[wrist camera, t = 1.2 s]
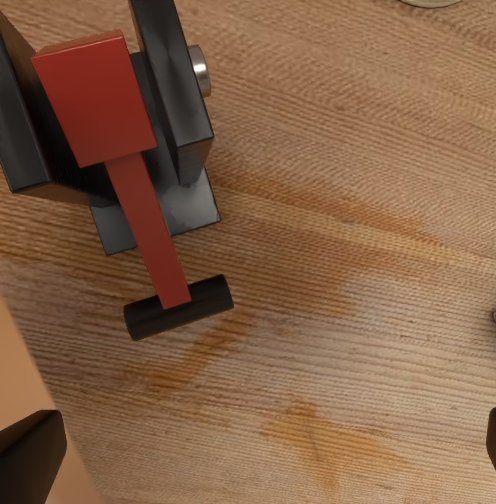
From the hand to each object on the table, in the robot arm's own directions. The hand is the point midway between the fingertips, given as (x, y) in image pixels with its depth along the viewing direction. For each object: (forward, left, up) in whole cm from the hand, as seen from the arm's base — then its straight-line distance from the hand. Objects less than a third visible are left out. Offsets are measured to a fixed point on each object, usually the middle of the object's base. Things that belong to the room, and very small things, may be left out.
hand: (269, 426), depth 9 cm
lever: (-1, +6, -7) cm, 9 cm away
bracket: (-2, +9, -14) cm, 16 cm away
